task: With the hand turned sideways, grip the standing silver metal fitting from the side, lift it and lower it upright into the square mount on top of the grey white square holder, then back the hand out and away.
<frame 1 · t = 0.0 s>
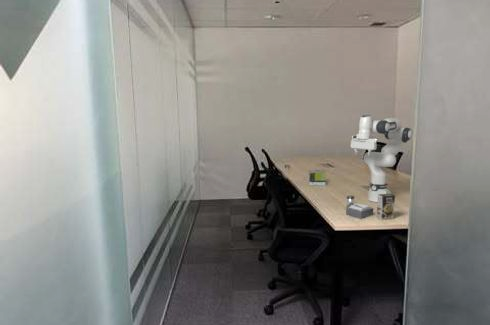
hand: (362, 155, 253), 39 cm above the table, tool pointing down, fingers open, 8 cm apart
tea box: (317, 184, 335), on the table
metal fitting: (350, 209, 247), on the table
coffee box: (385, 218, 226), on the table
grey white square holder: (359, 214, 234), on the table
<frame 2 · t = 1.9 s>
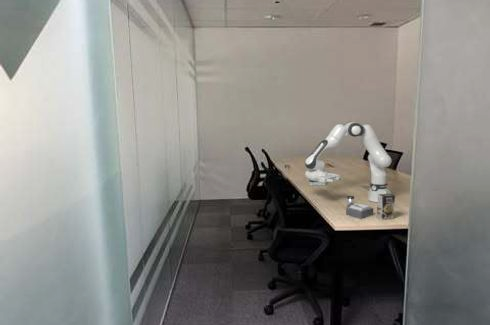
hand: (337, 179, 254), 20 cm above the table, tool horizontal, fingers open, 8 cm apart
nothing on the table moved.
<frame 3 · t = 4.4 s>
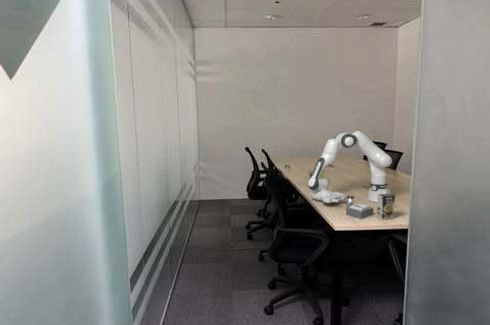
hand: (342, 199, 252), 6 cm above the table, tool horizontal, fingers open, 8 cm apart
nothing on the table moved.
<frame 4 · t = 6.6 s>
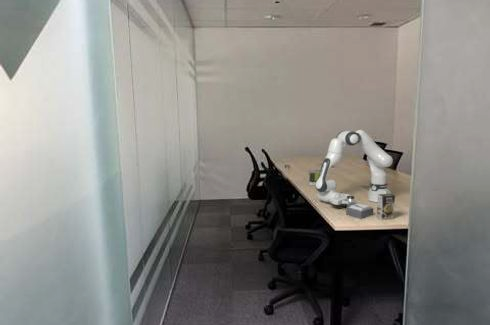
hand: (351, 201, 245), 6 cm above the table, tool horizontal, fingers closed on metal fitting, 5 cm apart
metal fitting: (350, 209, 247), on the table, touching gripper
everything else where it was.
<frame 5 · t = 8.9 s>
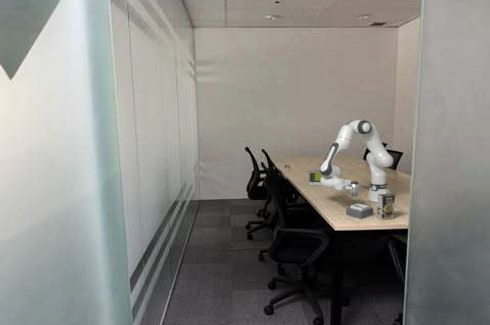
hand: (355, 187, 239), 18 cm above the table, tool horizontal, fingers closed on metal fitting, 5 cm apart
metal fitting: (353, 195, 240), point 12 cm above the table, touching gripper
everything else where it was.
when the fingers open (12 cm above the table, at t = 11.3 s): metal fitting stays where it is, resting on grey white square holder.
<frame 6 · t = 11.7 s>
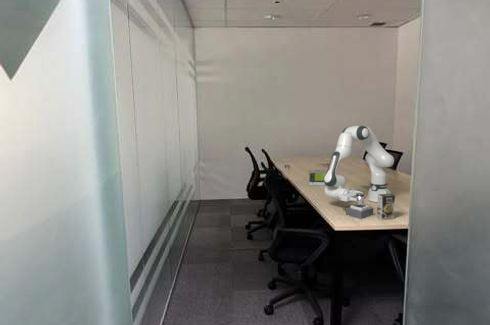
hand: (361, 198, 232), 12 cm above the table, tool horizontal, fingers open, 8 cm apart
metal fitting: (359, 207, 233), point 5 cm above the table, touching grey white square holder
everything else where it was.
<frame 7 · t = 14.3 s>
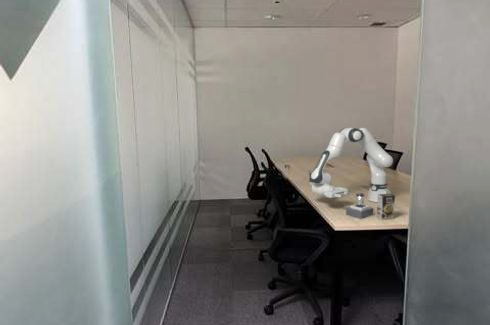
hand: (345, 195, 242), 12 cm above the table, tool horizontal, fingers open, 8 cm apart
nothing on the table moved.
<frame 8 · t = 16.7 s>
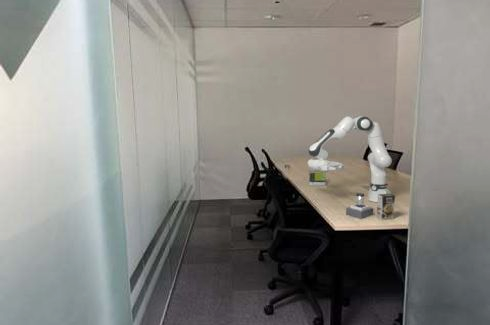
hand: (340, 168, 249), 30 cm above the table, tool horizontal, fingers open, 8 cm apart
nothing on the table moved.
at the end: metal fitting 0.0 cm off-centre on the grey white square holder, point 5.0 cm above the grey white square holder's base; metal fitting tilted 0°; the gripper is holding nothing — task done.
